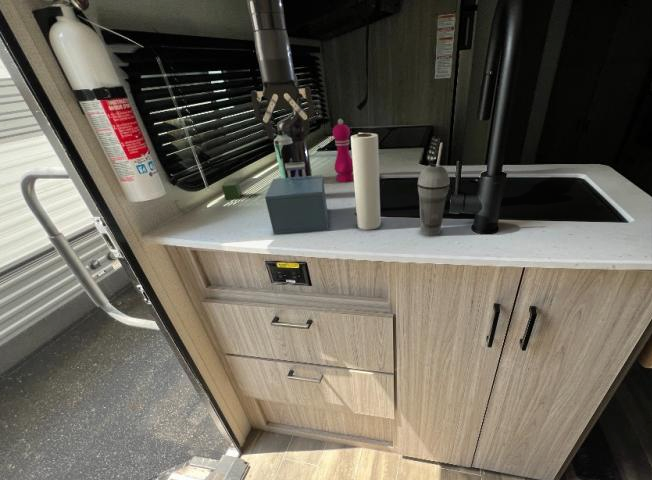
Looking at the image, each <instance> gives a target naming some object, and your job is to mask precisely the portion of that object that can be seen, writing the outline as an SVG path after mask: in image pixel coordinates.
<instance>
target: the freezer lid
mask: <svg viewBox="0 0 652 480" xmlns="http://www.w3.org/2000/svg"><path fill="white" fill-rule="evenodd" d="M285 167H286V171H287V173H288V178H281V177H280V178H273V179H272V181H271V183H270V185H269V187H268V188H267V191H266V193H265V196H264V199H265V201H266V200H271V199H282V198H293V197H304V196H316V195H323V181H324V175H323V174H316V175H312V176H306V174H305V163H304V162H297V163H285ZM301 169H302V173H303V177H291V174H290V170H301Z"/></svg>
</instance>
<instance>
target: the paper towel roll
mask: <svg viewBox="0 0 652 480" xmlns="http://www.w3.org/2000/svg"><path fill="white" fill-rule="evenodd" d="M350 147H351V159H352V161H353V172H352V174H354V180H353V185H354V199H355V210H356V211H355V212H356V224H357V227H358V228H359V229H361V230H366V231H368V230H369V231H370V230H376V229H378V228H379V227H380V226H381V222H382V221H381V193H380V192H381V191H380V189H381V188H380V159H379V158H380V156H379V155H380V154H379V135H378V133H371V132H358V133H357V134H353V135H351V136H350Z"/></svg>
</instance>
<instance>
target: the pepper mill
mask: <svg viewBox="0 0 652 480" xmlns="http://www.w3.org/2000/svg"><path fill="white" fill-rule="evenodd" d="M350 135H351V130H350V128H349V126H348V125H347V124H344V120H343V119H342V118H338V120H337V124H336V125H334V127H333V128H332V136H333V138H334V139H335V140H334V142H335V143H334V145H335V146H336V150H337V151H336V153H337V154H336V159H335V162H334V172H336V174H337V175H336V180H337V182H339V183H349V182H350V183H351V182H354V174H353V160H352V155H350V151H349V145H350V139H349V138H350V137H351V136H350Z"/></svg>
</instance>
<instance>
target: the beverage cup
mask: <svg viewBox="0 0 652 480" xmlns="http://www.w3.org/2000/svg"><path fill="white" fill-rule="evenodd" d="M443 144H444V143H443V142H440V144H439V149H438V155H437V161H436V163H435V164H429V165H427V166H425V167H424V168H423V169H422V170H421V172H420V174H419V176H418V179H417V184H416V185H417V192H418V198H419V199H418V200H419V220H420V221H419V222H420V223H419V225H420V233H421V234H422V235H423V236H426V237H436V236H438V235H439V234H440V232H441V228H442V224H443V218H444V213H445V208H446V207H445V206H446V202H447V196H448V193H449V190H450V186H451V182H450V181H451V180H450V179H451V178H450V175H449V172H448V170H447V169H446V168H445V167H444V166H443V165H441V164H440V161H441V156H442V150H443Z"/></svg>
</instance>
